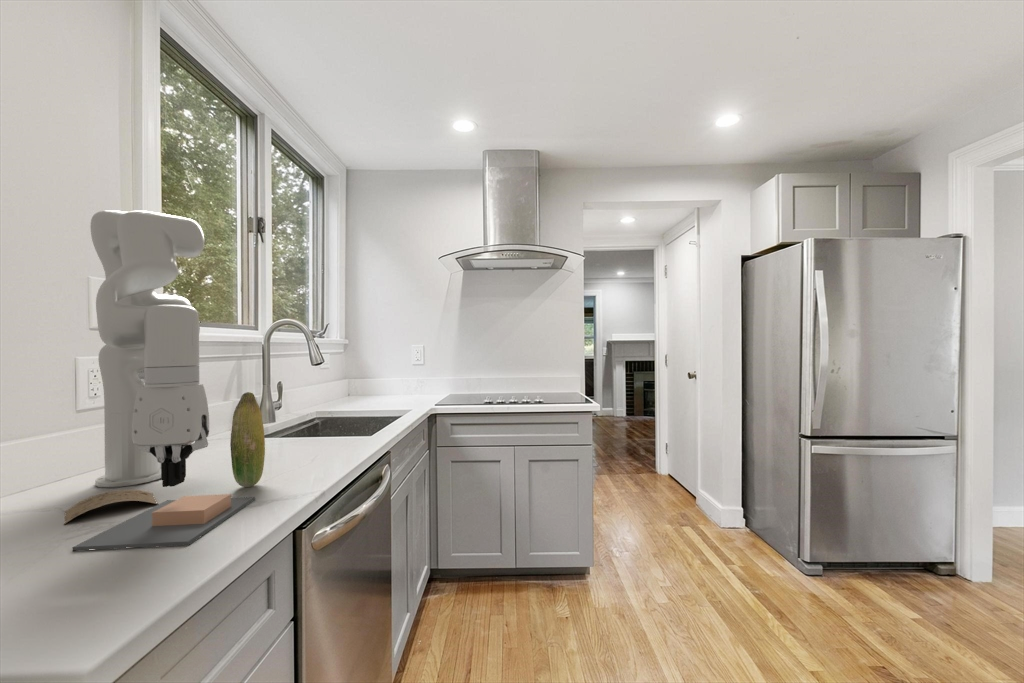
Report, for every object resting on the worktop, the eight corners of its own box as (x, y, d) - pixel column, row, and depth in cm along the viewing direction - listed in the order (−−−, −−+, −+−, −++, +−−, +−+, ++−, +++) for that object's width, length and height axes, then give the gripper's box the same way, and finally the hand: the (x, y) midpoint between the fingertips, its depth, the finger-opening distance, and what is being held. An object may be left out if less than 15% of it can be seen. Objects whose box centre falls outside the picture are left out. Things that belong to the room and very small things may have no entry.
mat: (167, 503, 85) (167, 500, 85) (254, 499, 86) (254, 496, 86) (72, 551, 65) (72, 547, 65) (188, 545, 66) (188, 541, 66)
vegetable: (272, 484, 96) (271, 391, 96) (248, 493, 90) (247, 394, 90) (249, 482, 98) (248, 390, 98) (224, 491, 92) (223, 393, 92)
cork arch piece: (59, 530, 75) (59, 513, 75) (56, 515, 81) (56, 500, 82) (167, 506, 85) (167, 492, 85) (156, 495, 92) (156, 482, 92)
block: (184, 496, 80) (230, 494, 81) (184, 508, 80) (231, 506, 81) (152, 512, 72) (204, 510, 73) (152, 526, 72) (204, 523, 73)
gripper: (108, 379, 73) (109, 493, 72) (205, 377, 74) (206, 489, 73) (142, 376, 80) (143, 479, 80) (230, 374, 81) (231, 476, 81)
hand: (173, 484), depth 77 cm, fingers closed
